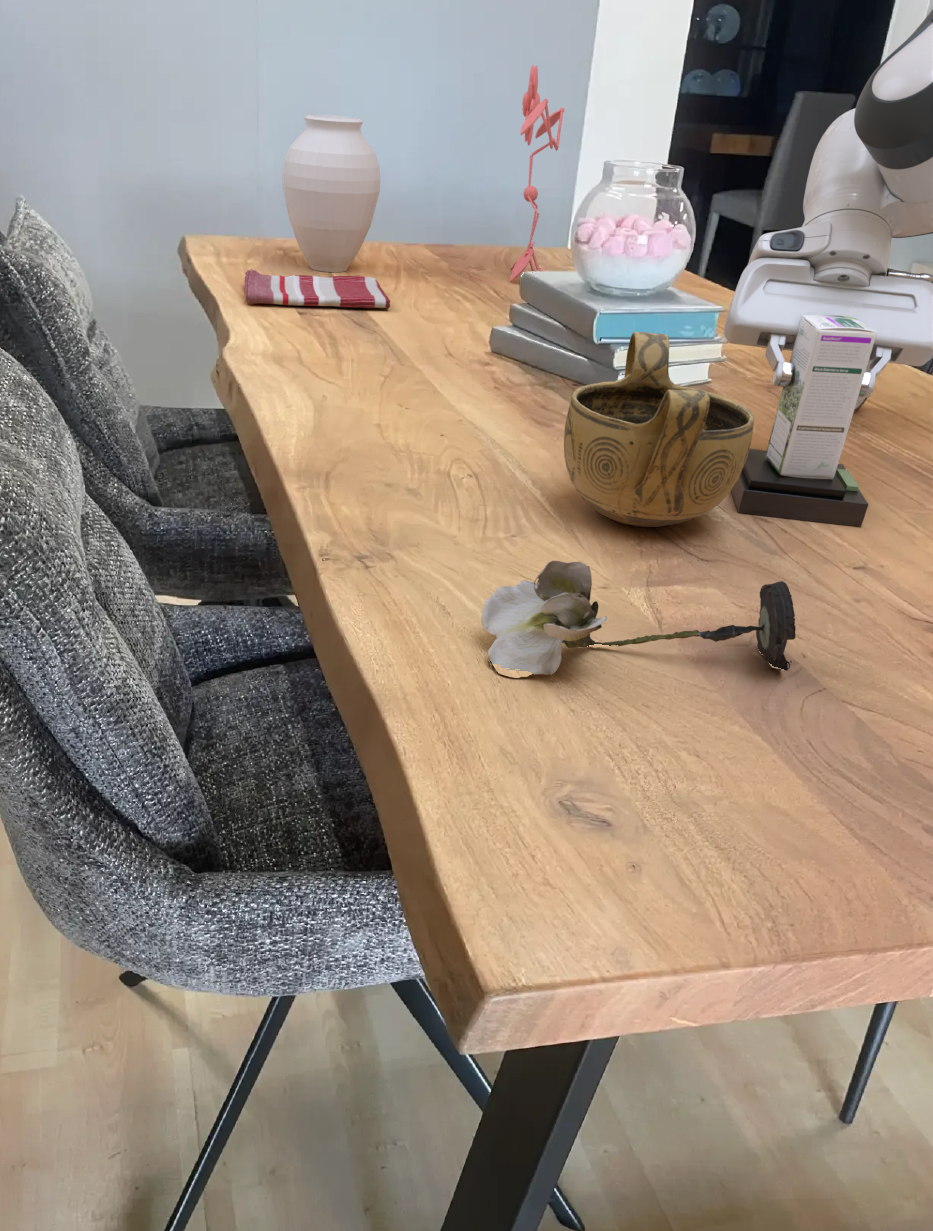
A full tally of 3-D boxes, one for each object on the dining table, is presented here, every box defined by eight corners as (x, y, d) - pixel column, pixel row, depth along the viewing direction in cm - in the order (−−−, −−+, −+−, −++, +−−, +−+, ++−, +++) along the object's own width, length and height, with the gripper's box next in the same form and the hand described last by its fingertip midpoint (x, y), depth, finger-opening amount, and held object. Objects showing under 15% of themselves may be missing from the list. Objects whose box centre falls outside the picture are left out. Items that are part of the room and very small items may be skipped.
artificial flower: (796, 712, 76) (830, 609, 68) (482, 716, 78) (482, 616, 70) (771, 626, 82) (801, 523, 74) (480, 632, 83) (480, 531, 76)
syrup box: (835, 480, 106) (882, 330, 98) (777, 476, 105) (819, 325, 97) (817, 460, 110) (860, 316, 102) (761, 457, 110) (800, 311, 102)
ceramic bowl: (543, 469, 112) (566, 322, 104) (702, 482, 112) (737, 336, 104) (563, 555, 93) (592, 383, 85) (754, 570, 93) (801, 400, 85)
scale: (836, 485, 114) (845, 456, 112) (861, 527, 104) (871, 496, 102) (723, 472, 115) (731, 444, 113) (738, 512, 105) (746, 482, 103)
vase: (280, 257, 206) (282, 109, 192) (370, 261, 208) (378, 116, 195) (282, 274, 191) (284, 116, 178) (379, 279, 194) (388, 123, 180)
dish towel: (243, 284, 182) (243, 267, 181) (377, 290, 186) (378, 274, 184) (245, 306, 168) (245, 288, 167) (390, 311, 172) (391, 294, 170)
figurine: (546, 269, 215) (575, 67, 195) (540, 293, 193) (571, 68, 174) (472, 261, 216) (493, 60, 197) (457, 284, 195) (479, 61, 176)
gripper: (936, 296, 107) (921, 419, 104) (731, 273, 110) (711, 392, 107) (962, 255, 101) (947, 385, 98) (743, 232, 104) (723, 357, 101)
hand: (822, 388), depth 103 cm, fingers closed on syrup box, 6 cm apart
